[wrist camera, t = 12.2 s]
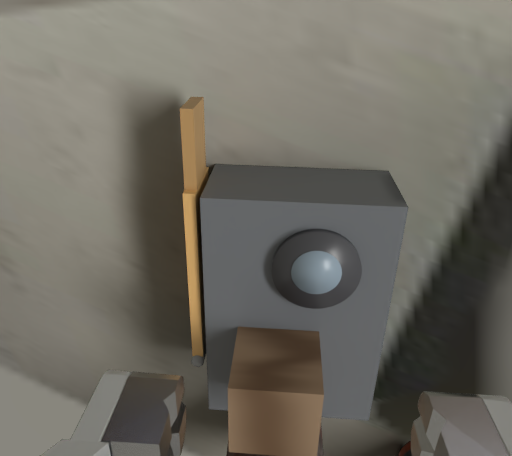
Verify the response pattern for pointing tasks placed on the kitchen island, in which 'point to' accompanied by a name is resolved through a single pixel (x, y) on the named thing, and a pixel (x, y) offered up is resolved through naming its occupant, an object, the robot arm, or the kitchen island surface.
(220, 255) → the grey box
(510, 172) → the kitchen island surface
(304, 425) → the walnut block
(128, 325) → the kitchen island surface
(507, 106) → the kitchen island surface
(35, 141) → the kitchen island surface
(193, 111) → the side door
